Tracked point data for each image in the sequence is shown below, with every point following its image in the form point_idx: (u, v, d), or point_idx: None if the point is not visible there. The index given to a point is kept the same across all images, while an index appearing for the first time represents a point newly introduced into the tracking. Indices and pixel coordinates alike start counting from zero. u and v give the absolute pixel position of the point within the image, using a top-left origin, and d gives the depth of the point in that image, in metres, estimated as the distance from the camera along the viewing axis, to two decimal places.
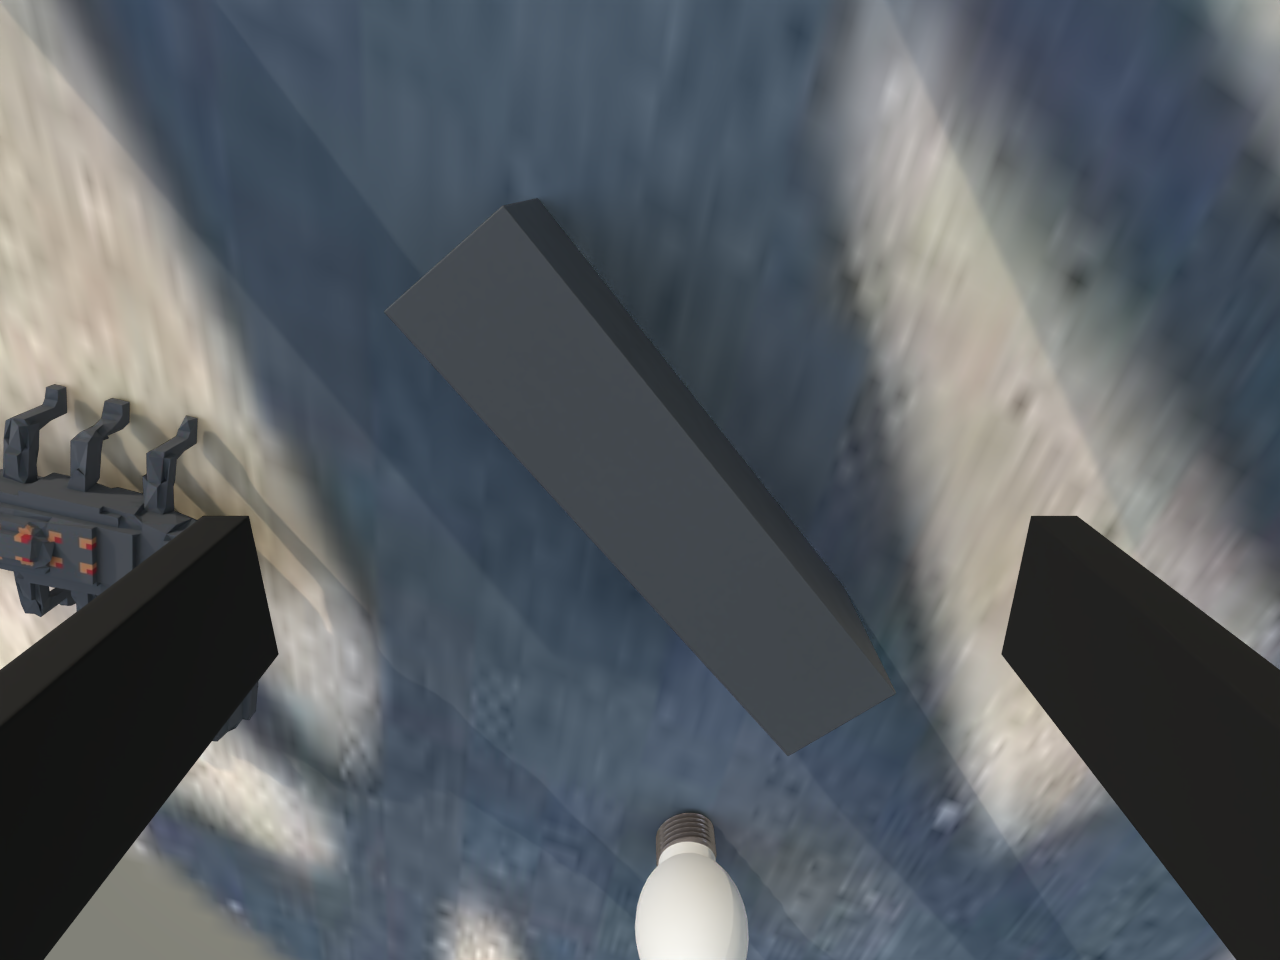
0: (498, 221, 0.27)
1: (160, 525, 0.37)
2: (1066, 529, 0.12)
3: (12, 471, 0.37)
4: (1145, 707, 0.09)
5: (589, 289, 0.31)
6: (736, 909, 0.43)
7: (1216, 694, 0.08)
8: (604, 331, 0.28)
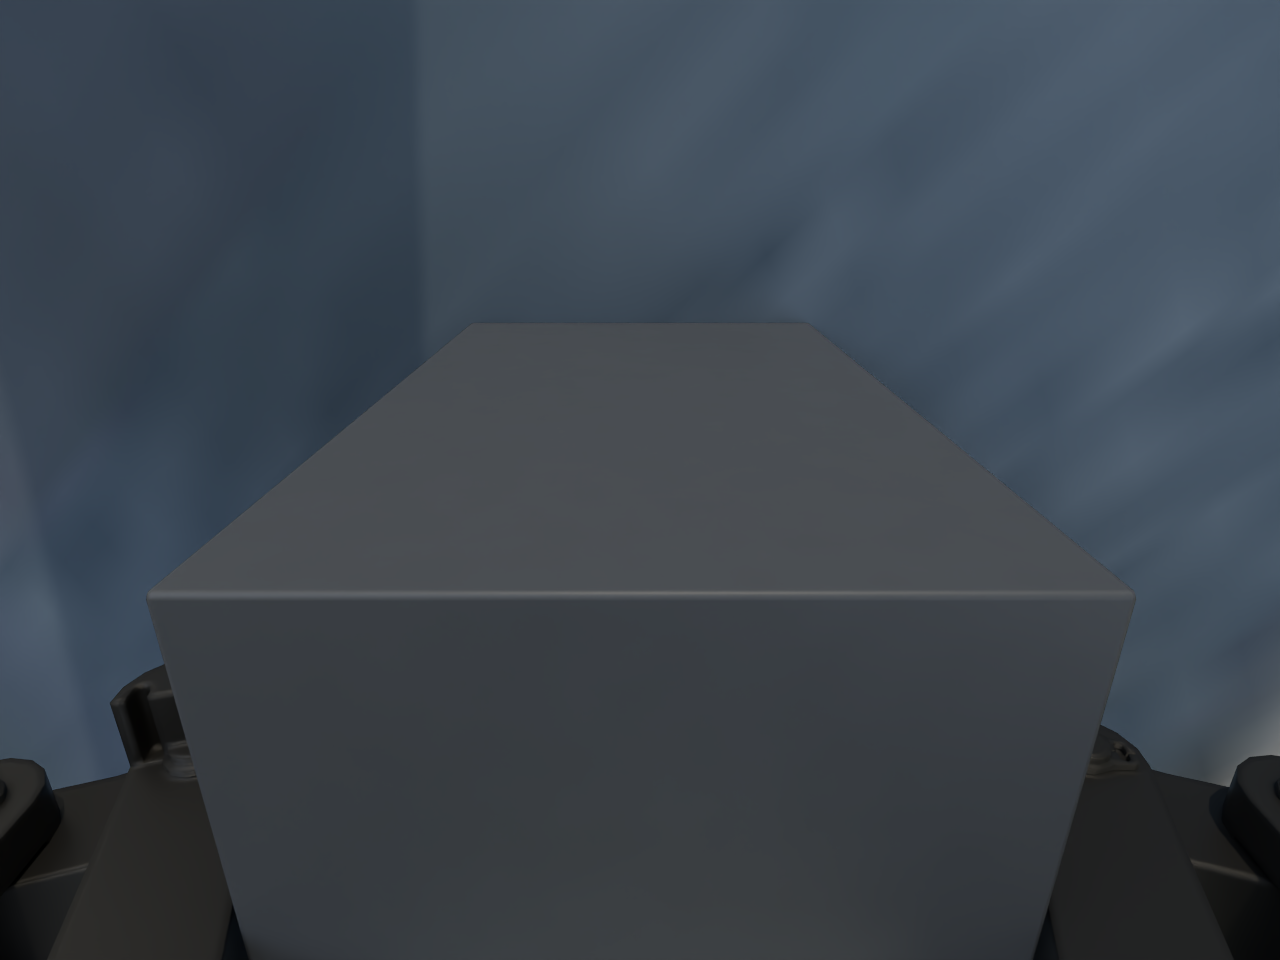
0: (1050, 637, 0.05)
1: None
2: None
3: None
4: None
5: None
6: None
7: None
8: None
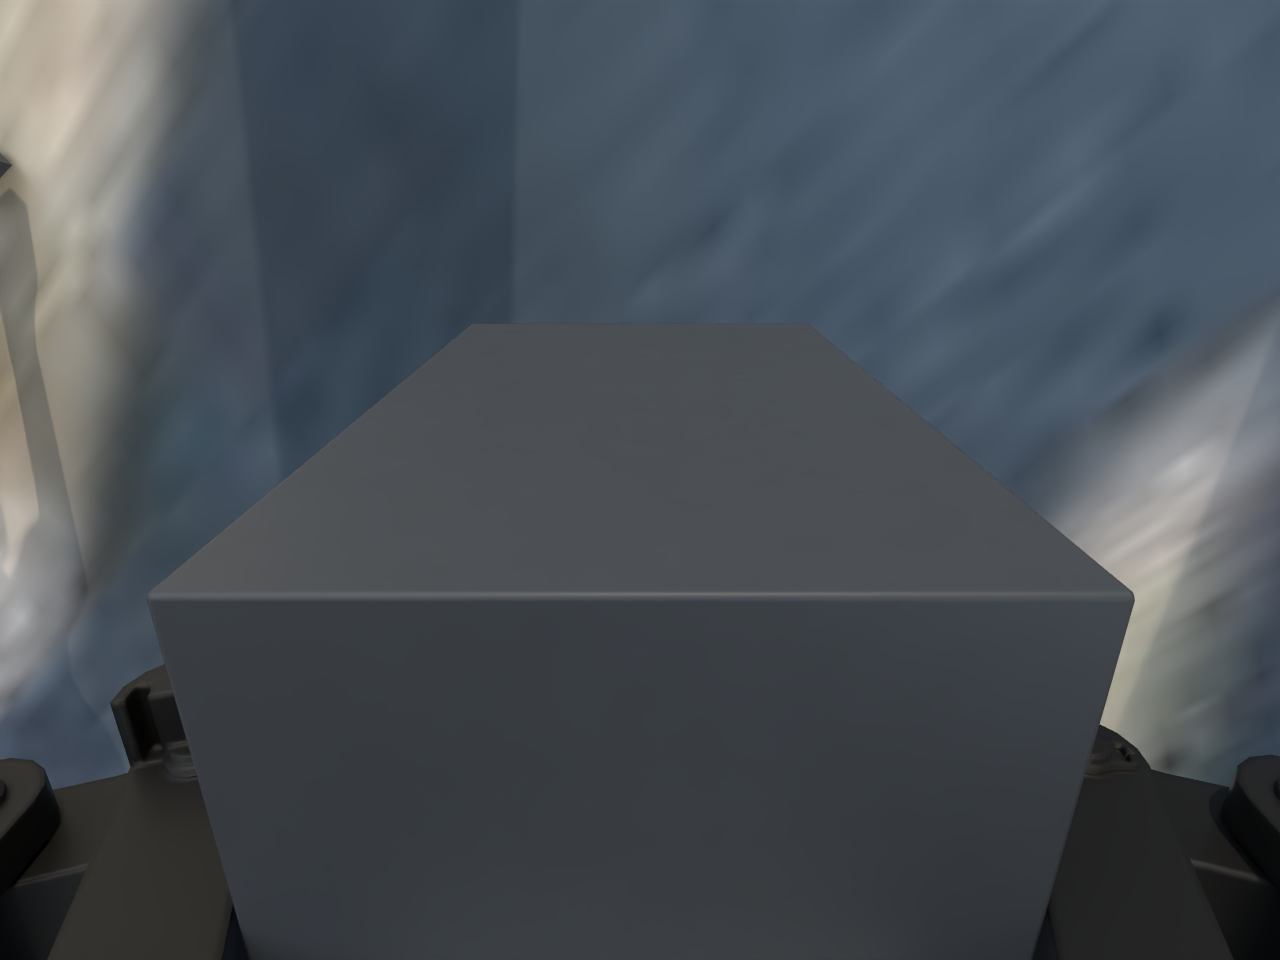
0: (1050, 636, 0.05)
1: None
2: None
3: None
4: None
5: None
6: None
7: None
8: None
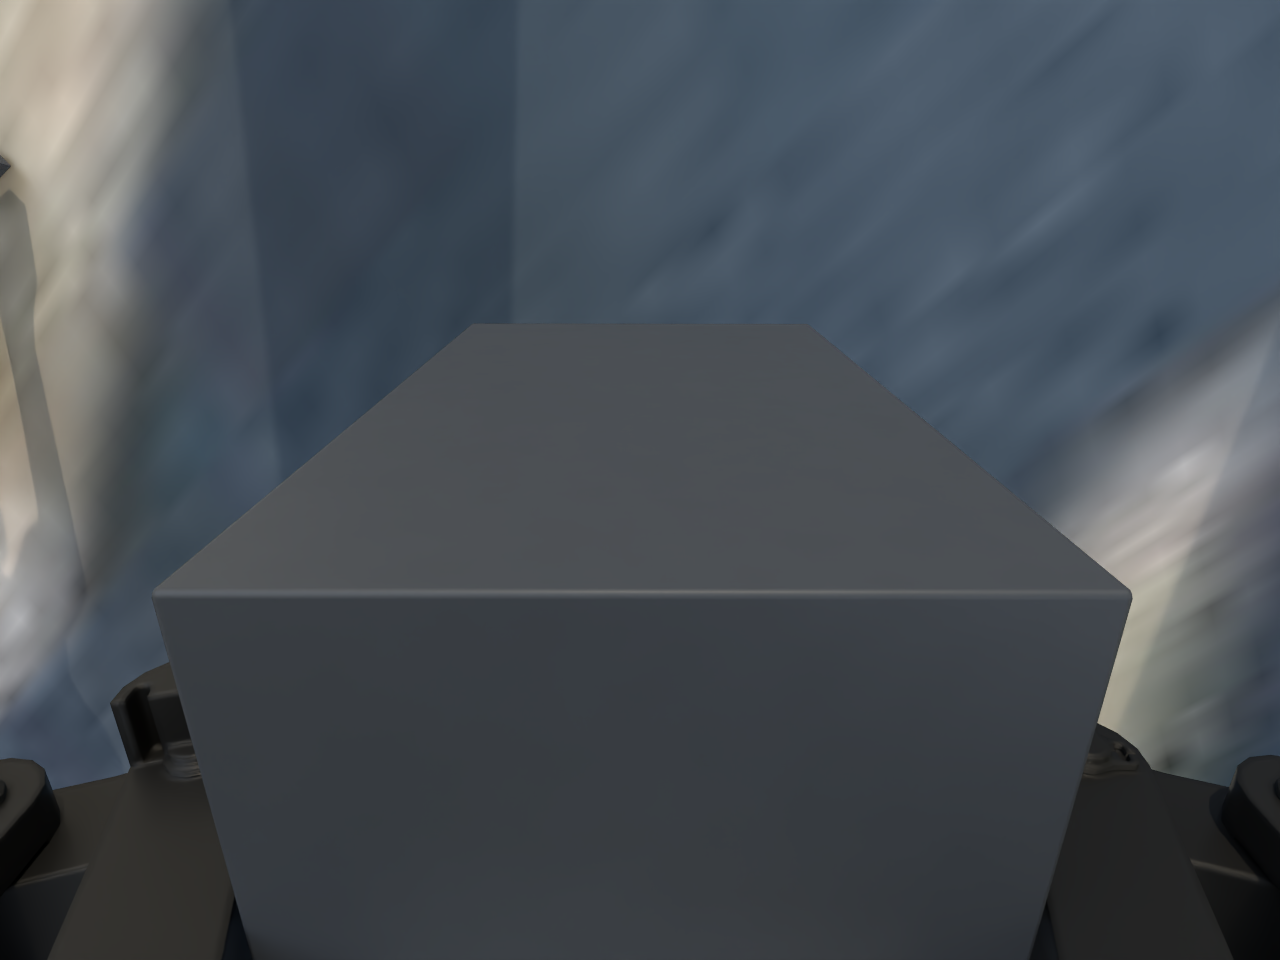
0: (1049, 635, 0.05)
1: None
2: None
3: None
4: None
5: None
6: None
7: None
8: None
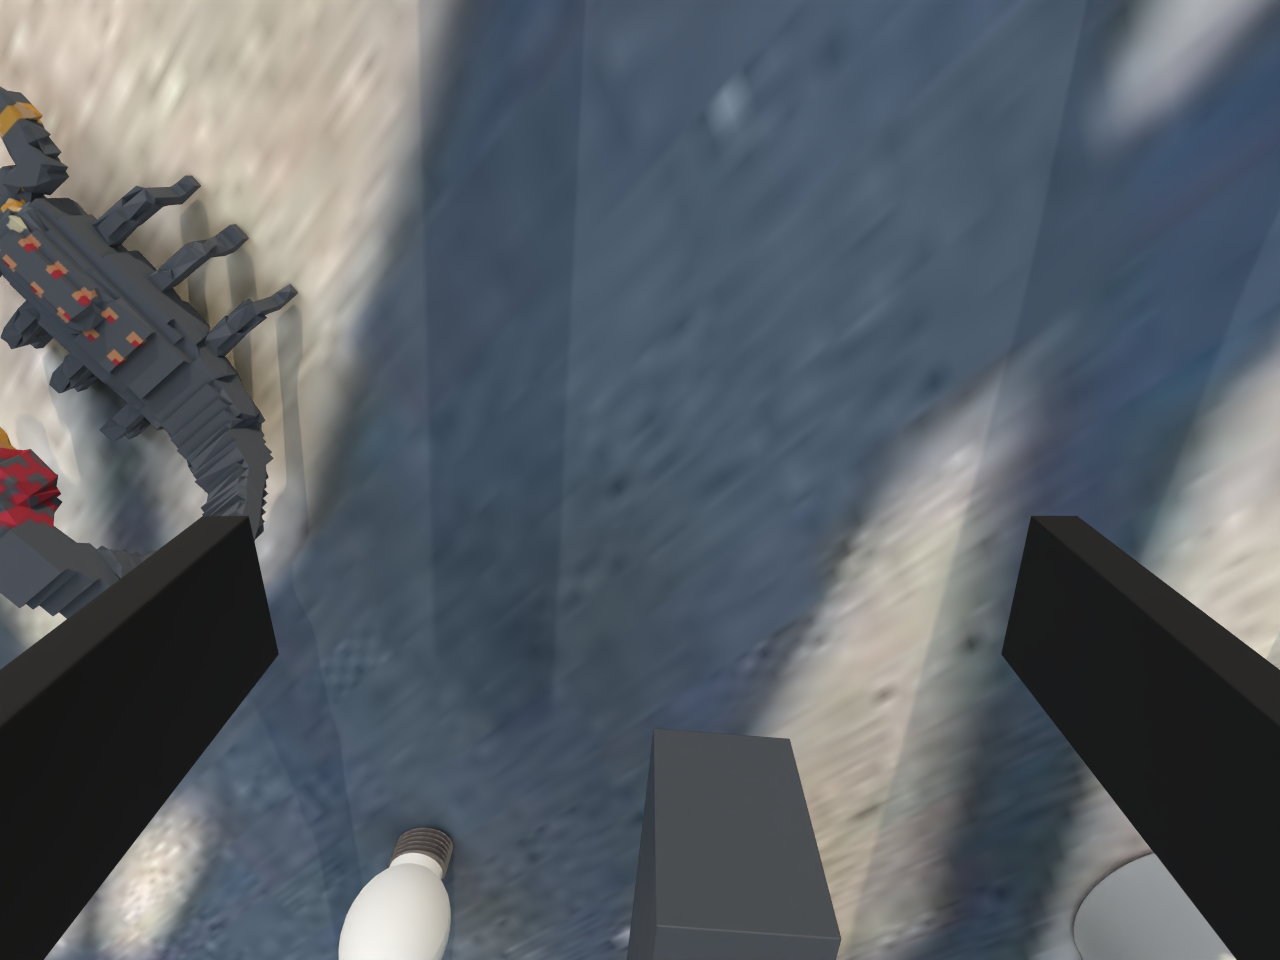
0: (825, 944, 0.24)
1: (212, 367, 0.37)
2: (1066, 529, 0.12)
3: (106, 229, 0.35)
4: (1145, 707, 0.09)
5: None
6: (445, 937, 0.48)
7: (1216, 694, 0.08)
8: None
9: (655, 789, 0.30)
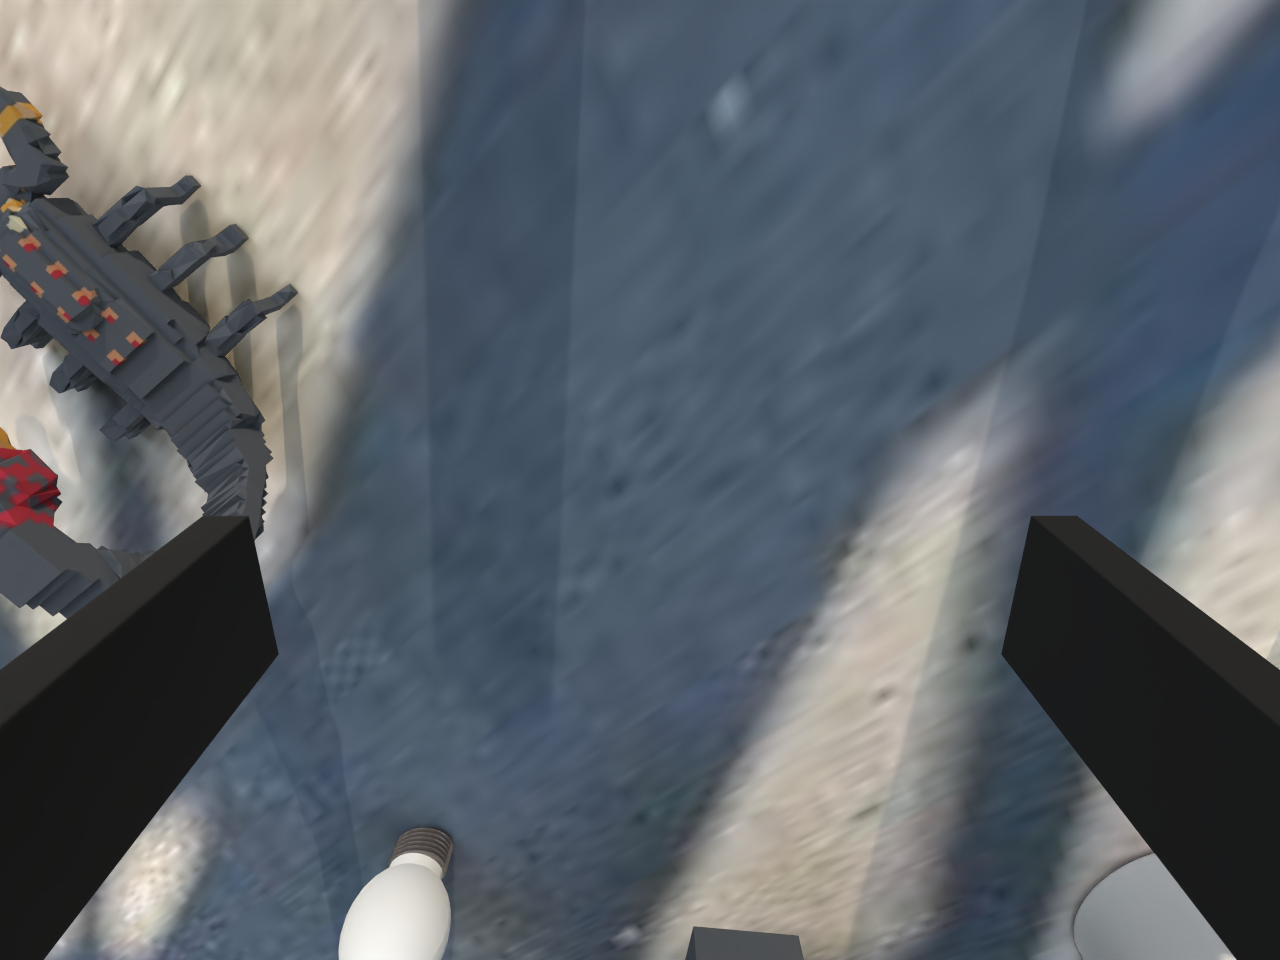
0: None
1: (212, 368, 0.37)
2: (1066, 529, 0.12)
3: (106, 229, 0.35)
4: (1145, 707, 0.09)
5: None
6: (445, 937, 0.48)
7: (1216, 694, 0.08)
8: None
9: None
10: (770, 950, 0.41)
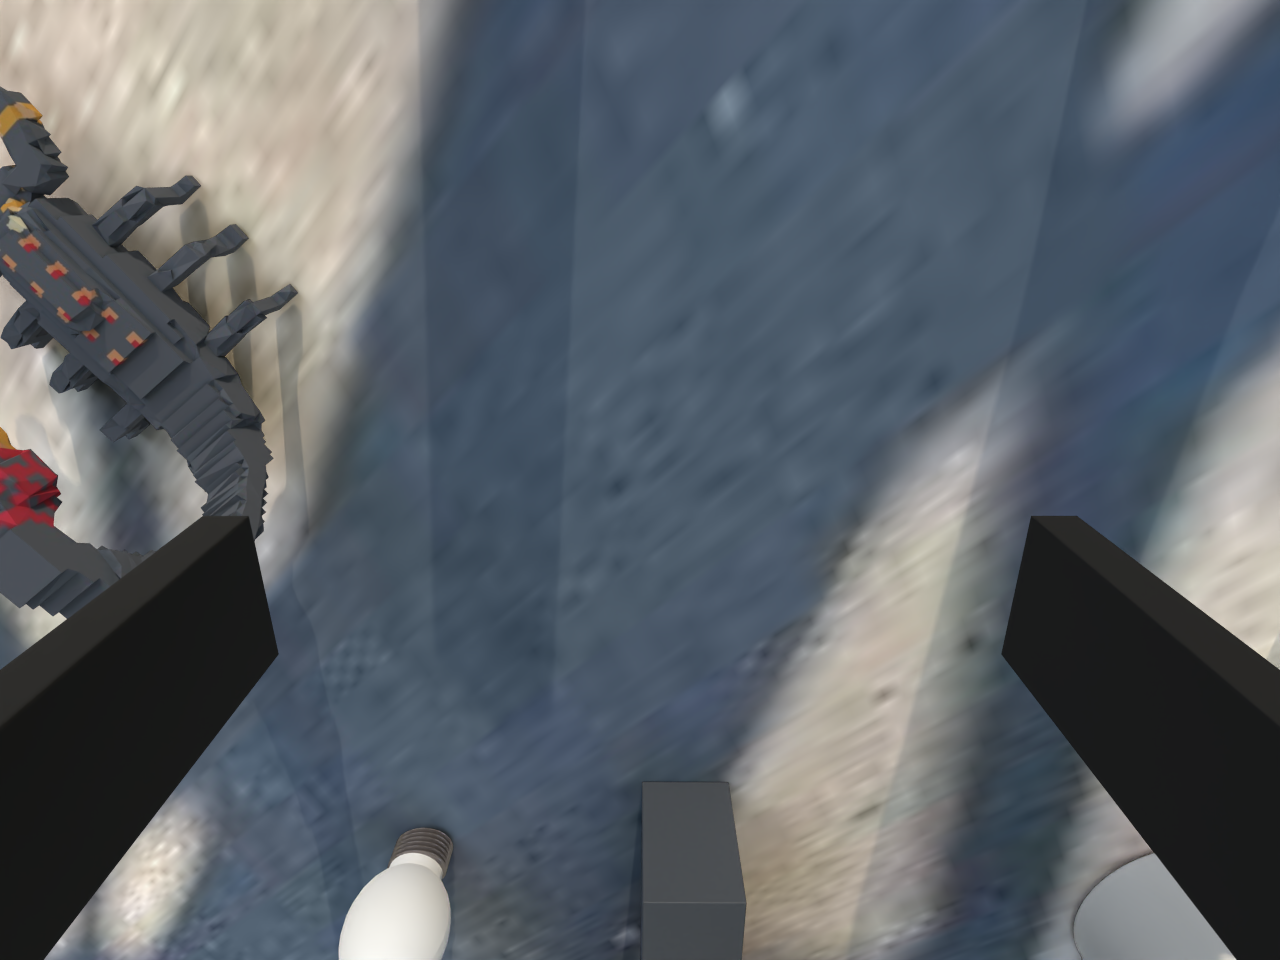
0: (738, 907, 0.44)
1: (212, 368, 0.37)
2: (1066, 529, 0.12)
3: (106, 229, 0.35)
4: (1145, 707, 0.09)
5: None
6: (445, 937, 0.48)
7: (1216, 694, 0.08)
8: None
9: (643, 822, 0.49)
10: (703, 793, 0.51)
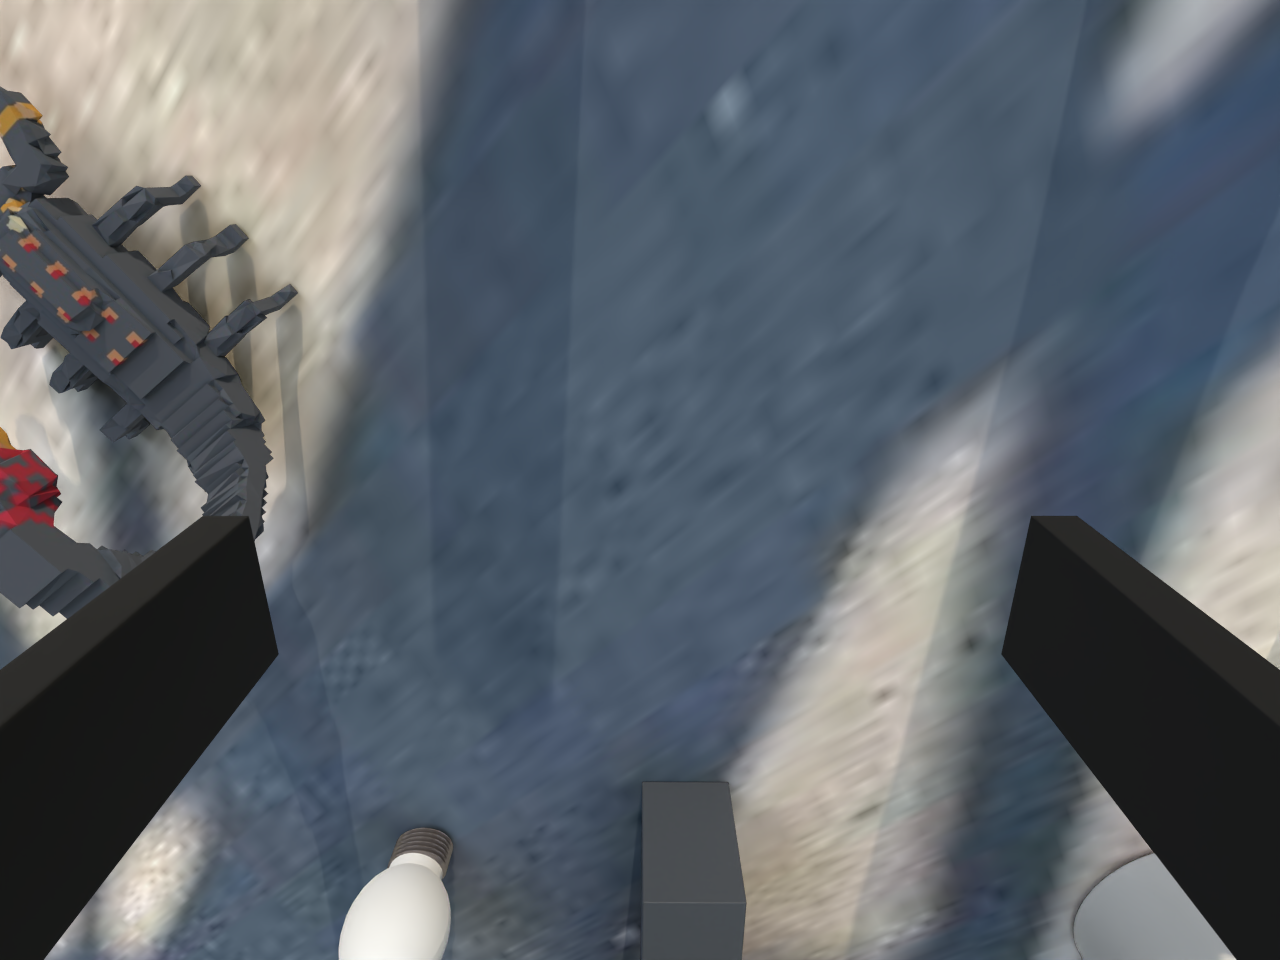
0: (738, 907, 0.44)
1: (212, 368, 0.37)
2: (1066, 529, 0.12)
3: (106, 229, 0.35)
4: (1145, 707, 0.09)
5: None
6: (445, 937, 0.48)
7: (1216, 694, 0.08)
8: None
9: (643, 822, 0.49)
10: (703, 793, 0.51)
